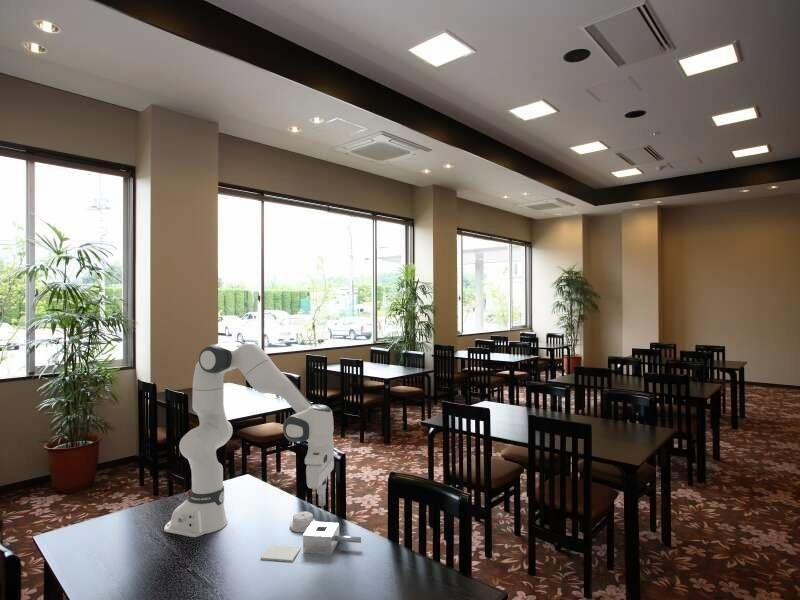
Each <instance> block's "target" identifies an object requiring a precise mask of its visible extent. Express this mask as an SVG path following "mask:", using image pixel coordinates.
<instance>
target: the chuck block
mask: <svg viewBox="0 0 800 600" xmlns="http://www.w3.org/2000/svg"><path fill="white" fill-rule="evenodd" d="M339 542H343V543H357V544H362V543H361V542H362V537H361V536H351V535H350V536H348V535H340V523H339V522H327V521H326V522H325V521H316V522H314V521H312V523H311V524H310V526H309V527H308V529H307V530H306V531H305V532H303V534H302V552H303V553H306V554H317V555H318V554H319V555H332V554H333V553H334V550H335V549H336V547H337V545H338V543H339ZM303 553H302V554H303Z"/></svg>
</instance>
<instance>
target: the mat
mask: <svg viewBox="0 0 800 600" xmlns="http://www.w3.org/2000/svg"><path fill="white" fill-rule="evenodd" d="M301 549H302V548H301V547H299V546H286V545H285V546H284V545H273V544H272V545H271V544H270V545H269V547H268V548H267V549H266V550H265V552H264V553H263V554H262V555H261V557H260V560H261V561H262V560H263V561H274V562H275V561H278V562H290V563H293V561H294V560H295V559H296V558H297V556H298V554H299V553H300V551H301Z"/></svg>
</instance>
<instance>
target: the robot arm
mask: <svg viewBox="0 0 800 600" xmlns="http://www.w3.org/2000/svg"><path fill="white" fill-rule="evenodd" d="M235 370H239V371H240V372H241V373H242V375H243V376H244V378H245V380H246V381H247V382H248V384H249V386H251V387H252V388H253V389H254V390H255V391H257V392H258V393H261V394H262V393H264V394H271V395H276V396H279V397H281V398H282V399H284V400H285V401H286V402H287V404H288V405H289V406H290V407H291V408H292V409H293V411H294V412H295V413H294V414H292V415H290V416H288V417H286V419H284V422H283V424H282V432H283V435H284V437H285V438H286V439H287V440H288V441H289V442H292V443H300V442H308V443H307V445H308V449H307V453H306V455H305V458H304V464H305V465H306V468H305V475H306V485H307V487H308V488H309V489H315V490H316V494H317V495H318V494H322V492H323V488H322V482H323V481H324V480H325V479H326V484H325V490H326V489H327V482H328V476H329V475H330V473H331V472H332V471H333V470H334V469H335V468H334V467H335V458H334V456H335V443H334V442H335V440H334V437H333V434H334V428H335V427H334V426H335V425H334V415H333V414H334V413H333V411H332V409H331V408H330V407H329V406H328V405H325V404H317V403H316V404H313V403H312V402H311V401H310V400H309V399H308V398H307V397H306V395H304V394H303V392H302V391H301V390H300V389H299V388H298V387H297V385H295V383H294V382H293V381H292V380H291V379H290V378H288V377H287V375H285V374H284V373H283V372H282V371H281V370H280V369H279V368H278V367H277V366H276V364H275V363H274V362H273V360H272V359H271V357H269V355H268V354H267V352H265V351H264V349H262V348H261V346H259V345H258V344H257V343H255V342H252V341H251V342H249V341H248V342H244V341H241V340H235V341H223V342H221V343H213V344H210V345H207V346H204V348H202V350H200V352H199V355H198V362H197V363H196V364H195V368H194V373H193V378H192V395H191V396H192V398H191V400H192V406H191V408H192V410H193V412H195V413H196V414H197V417H198V421H199V425H198V426H196V427H195V428H192V429H190V430H189V431H187V433H185V434H184V435H183V436H182V437H181V439H180V441H179V451H180V454H181V455H182V456H183V457H184V458H185V459H187V460H188V463H189V466H190V470H191V489H189V490H188V491H187V492H185V496H184V497H187V499H186V500H185V501H183V502H182V503H181V504H180V505H178V506H177V507H176V508H175V509H174V510H173V511H172V514H171V518H170V520H169V521H168V522H167V523H166V524H165V526H164V527H163V532H165V533H170V534H175V535H176V534H177V535H181V536H185V537H191V538H198V537H200V536H203V535H205V534H210V533H214V532H217V531H220V530H222V529H223V528H225V526H227V524H228V518H227V516H226V515H227V514H226V510H225V504H224V503H225V502H224V501H225V485H224V468H223V465H222V463H221V462H219V460H218V457H217V450H218V449H219V448H221V447H223V446H224V445H226V444H227V443H228V441H230V439H231V438H232V435H233V434H234V432H233V431H234V429H233V426H232V424H231V422H230V421H229V420H228V419H227V415H226V412H225V407H224V405H225V404H224V377H225V374H226V373H227V372H231V371H235Z"/></svg>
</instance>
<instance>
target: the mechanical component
mask: <svg viewBox="0 0 800 600" xmlns="http://www.w3.org/2000/svg"><path fill="white" fill-rule="evenodd" d="M312 521H314V522H317V520H316V519H315V518H314V514H313V513H312V512H309V511H305V510H304V511H299V512H297V513H294V514H293V515H292V520H291V521H290V523H289V529H290V530H291V531H292V532H296V533H305V531H306V530H307V529H308V527H309V526H310V524H311V523H312Z"/></svg>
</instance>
